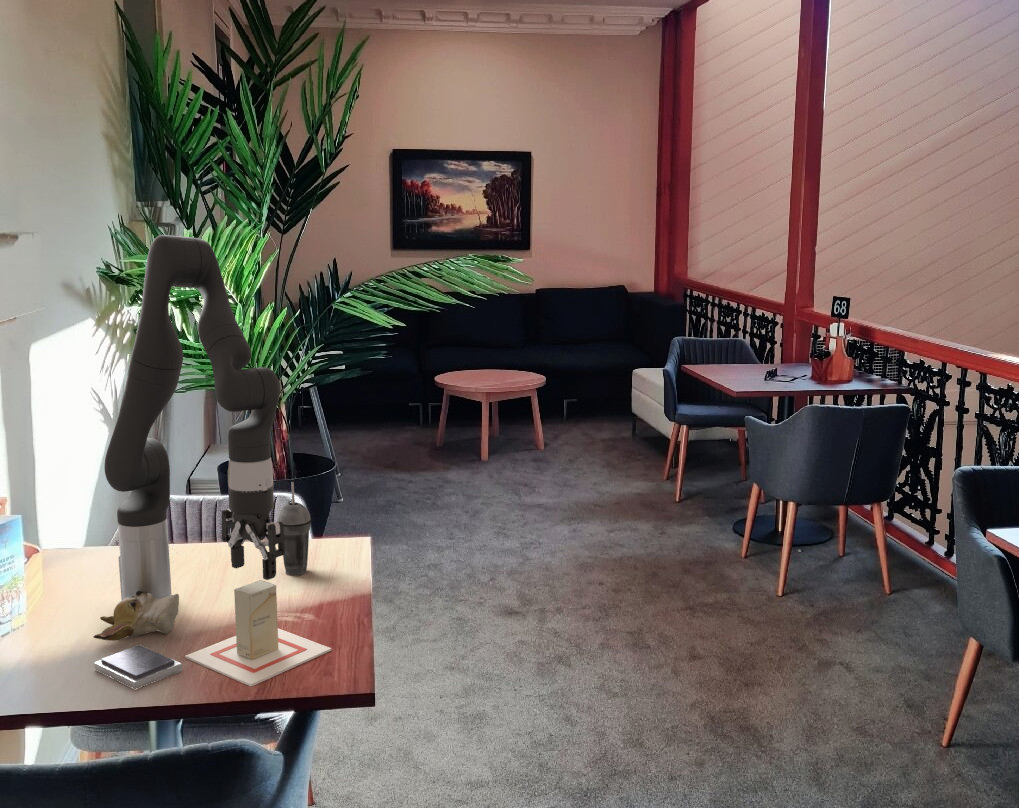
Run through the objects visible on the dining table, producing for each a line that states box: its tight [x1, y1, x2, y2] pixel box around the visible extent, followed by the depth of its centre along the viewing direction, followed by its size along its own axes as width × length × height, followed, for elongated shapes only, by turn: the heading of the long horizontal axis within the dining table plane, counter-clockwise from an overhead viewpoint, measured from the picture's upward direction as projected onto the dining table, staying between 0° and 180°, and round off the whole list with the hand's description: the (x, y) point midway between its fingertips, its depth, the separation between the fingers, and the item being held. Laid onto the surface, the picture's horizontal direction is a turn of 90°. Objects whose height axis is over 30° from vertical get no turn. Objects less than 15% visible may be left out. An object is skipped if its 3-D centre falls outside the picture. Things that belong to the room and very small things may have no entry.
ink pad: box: [93, 644, 183, 690], centre depth 176 cm, size 12×9×2 cm
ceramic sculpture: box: [92, 591, 180, 642], centre depth 191 cm, size 11×9×15 cm
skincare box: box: [233, 579, 279, 659], centre depth 182 cm, size 6×4×12 cm
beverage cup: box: [276, 481, 312, 577], centre depth 222 cm, size 7×7×20 cm
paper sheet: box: [184, 627, 332, 687], centre depth 183 cm, size 18×18×1 cm
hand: (253, 572), depth 180 cm, fingers open, 8 cm apart
